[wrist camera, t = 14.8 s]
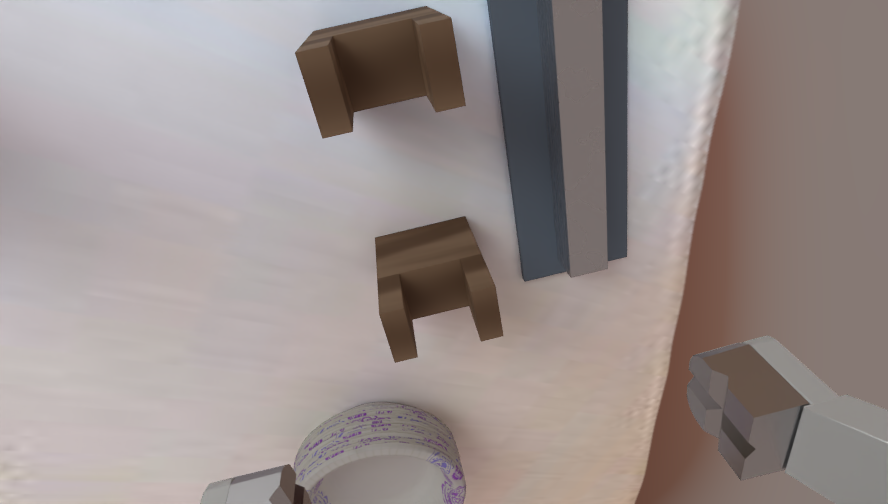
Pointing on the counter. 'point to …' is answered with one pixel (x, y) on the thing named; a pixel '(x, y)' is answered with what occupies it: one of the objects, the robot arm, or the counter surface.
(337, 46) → the cradles
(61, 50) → the counter surface
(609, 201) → the mat
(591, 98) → the rail
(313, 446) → the paper bowls
